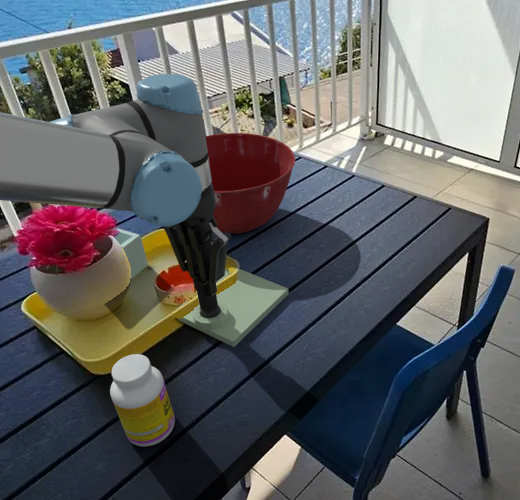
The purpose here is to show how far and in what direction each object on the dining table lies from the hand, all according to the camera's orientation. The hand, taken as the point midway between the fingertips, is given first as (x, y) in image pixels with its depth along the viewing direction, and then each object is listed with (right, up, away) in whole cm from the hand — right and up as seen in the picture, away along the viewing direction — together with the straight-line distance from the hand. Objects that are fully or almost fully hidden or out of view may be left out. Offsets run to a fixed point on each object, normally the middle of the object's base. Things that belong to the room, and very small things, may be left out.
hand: (209, 306), depth 86 cm
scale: (+3, -1, +6) cm, 7 cm away
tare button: (0, -1, +1) cm, 2 cm away
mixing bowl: (-2, +17, +31) cm, 35 cm away
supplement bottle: (-4, -16, -15) cm, 22 cm away
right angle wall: (-25, +5, +13) cm, 28 cm away
